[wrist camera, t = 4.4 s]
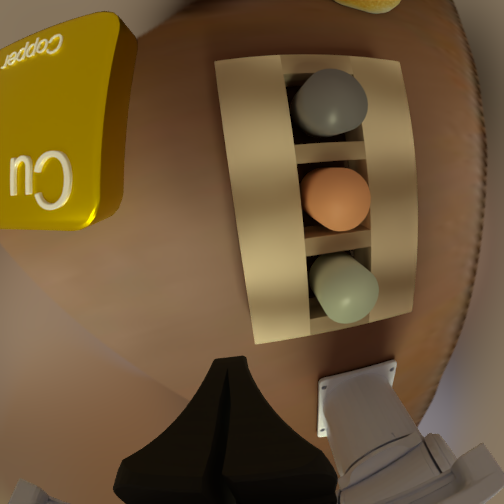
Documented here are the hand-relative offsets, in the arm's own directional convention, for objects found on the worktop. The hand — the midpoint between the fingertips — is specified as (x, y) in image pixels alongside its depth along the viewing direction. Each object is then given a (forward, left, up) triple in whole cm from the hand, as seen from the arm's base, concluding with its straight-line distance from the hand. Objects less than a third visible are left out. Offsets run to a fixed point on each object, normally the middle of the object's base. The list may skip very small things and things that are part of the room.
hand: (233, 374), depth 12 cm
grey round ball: (+11, -7, -8) cm, 16 cm away
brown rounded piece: (+6, -7, -9) cm, 13 cm away
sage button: (0, -7, -8) cm, 11 cm away
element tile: (+15, +13, -10) cm, 22 cm away
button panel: (+6, -7, -9) cm, 13 cm away
